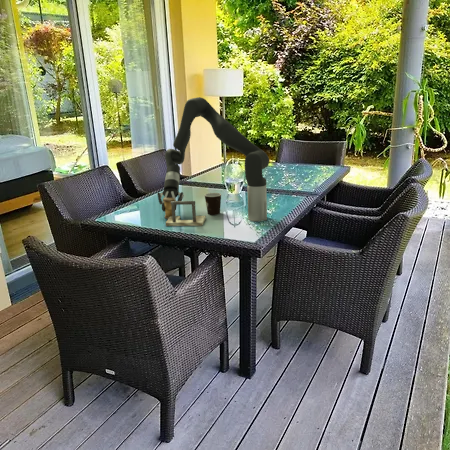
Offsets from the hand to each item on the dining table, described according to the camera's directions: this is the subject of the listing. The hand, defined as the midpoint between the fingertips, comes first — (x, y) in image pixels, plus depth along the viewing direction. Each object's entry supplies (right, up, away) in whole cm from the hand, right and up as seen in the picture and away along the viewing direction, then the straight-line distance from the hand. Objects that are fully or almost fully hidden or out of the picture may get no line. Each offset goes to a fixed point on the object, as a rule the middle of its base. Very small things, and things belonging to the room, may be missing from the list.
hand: (168, 210), depth 224 cm
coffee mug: (+23, -2, +5) cm, 23 cm away
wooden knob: (0, -3, +3) cm, 5 cm away
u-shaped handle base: (+9, -6, -6) cm, 12 cm away
